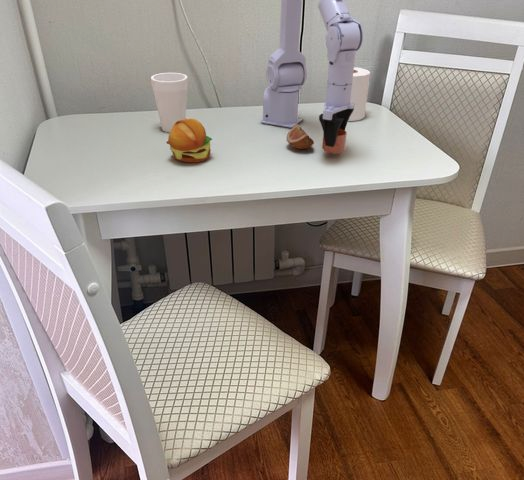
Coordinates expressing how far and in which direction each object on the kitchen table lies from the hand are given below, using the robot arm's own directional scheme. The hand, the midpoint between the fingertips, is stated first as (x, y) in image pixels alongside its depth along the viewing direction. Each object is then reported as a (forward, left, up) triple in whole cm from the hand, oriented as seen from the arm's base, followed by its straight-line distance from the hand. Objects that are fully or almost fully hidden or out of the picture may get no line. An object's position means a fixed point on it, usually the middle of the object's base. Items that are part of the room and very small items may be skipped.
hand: (333, 141), depth 135 cm
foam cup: (-46, -1, -3) cm, 46 cm away
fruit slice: (-9, +1, -3) cm, 10 cm away
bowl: (0, 0, -2) cm, 2 cm away
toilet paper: (-7, +32, -3) cm, 32 cm away
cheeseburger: (-31, -17, -3) cm, 35 cm away
